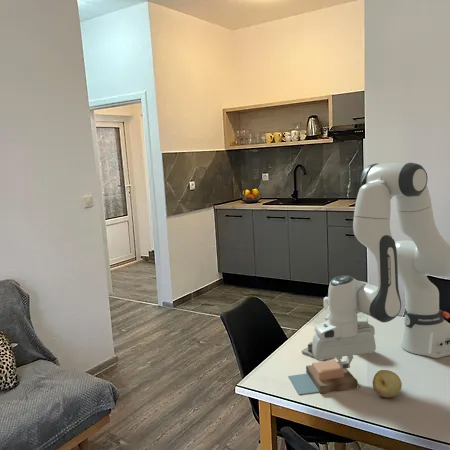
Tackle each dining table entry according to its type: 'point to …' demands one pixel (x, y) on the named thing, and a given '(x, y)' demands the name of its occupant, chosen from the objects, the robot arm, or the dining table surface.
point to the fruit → (387, 383)
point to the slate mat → (303, 384)
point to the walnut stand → (333, 382)
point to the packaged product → (310, 351)
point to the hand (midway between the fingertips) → (344, 367)
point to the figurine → (326, 307)
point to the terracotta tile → (327, 370)
